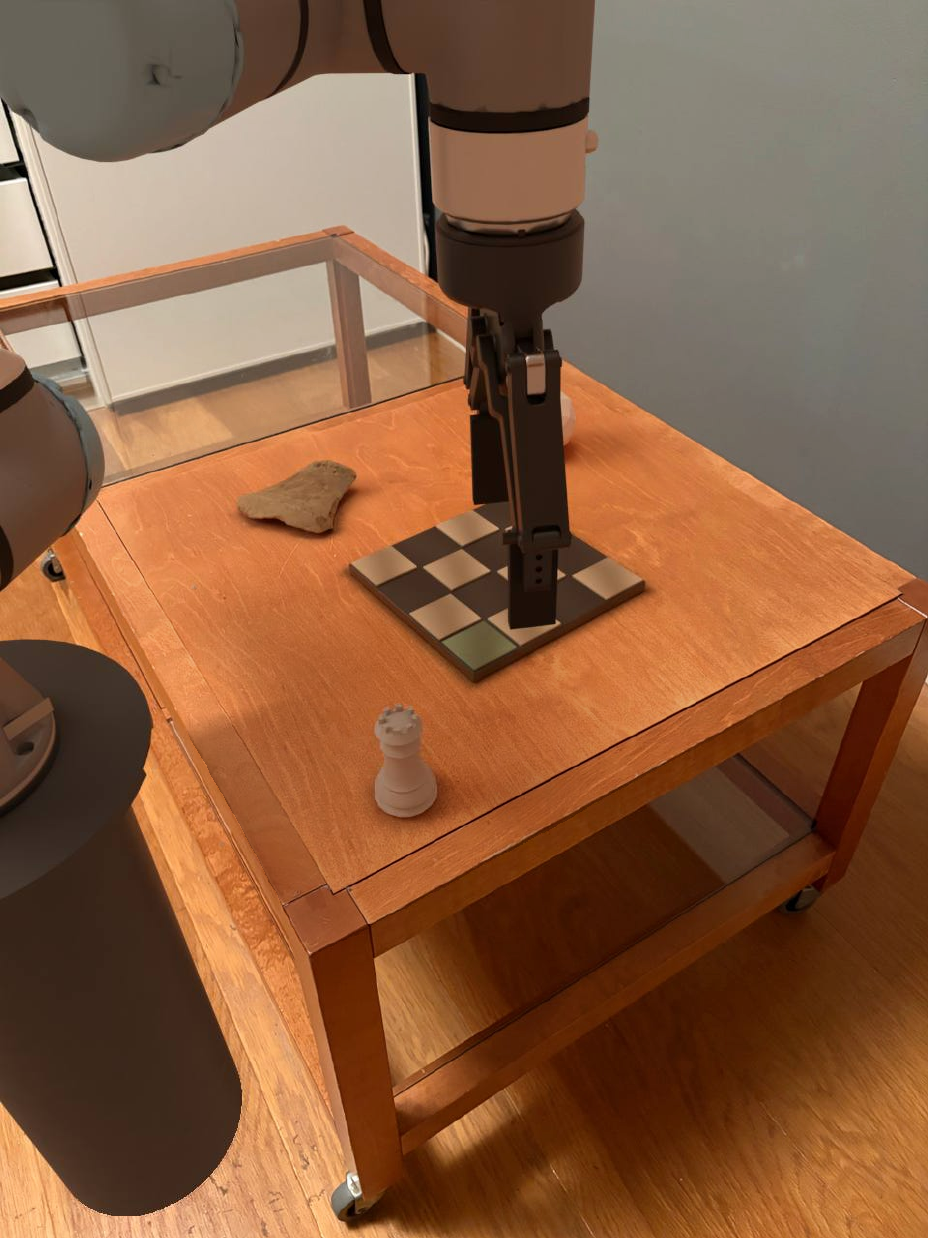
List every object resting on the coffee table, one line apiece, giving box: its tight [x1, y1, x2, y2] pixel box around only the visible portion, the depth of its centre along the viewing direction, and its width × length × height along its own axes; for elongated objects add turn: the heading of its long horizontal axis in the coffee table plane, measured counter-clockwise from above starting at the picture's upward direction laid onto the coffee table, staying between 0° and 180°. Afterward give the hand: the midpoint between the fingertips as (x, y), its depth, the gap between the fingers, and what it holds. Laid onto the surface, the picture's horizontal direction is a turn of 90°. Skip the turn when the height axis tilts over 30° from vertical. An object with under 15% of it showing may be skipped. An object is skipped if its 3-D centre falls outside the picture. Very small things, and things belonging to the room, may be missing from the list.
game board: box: [348, 501, 646, 683], centre depth 86 cm, size 19×19×1 cm
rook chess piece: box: [373, 703, 438, 818], centre depth 65 cm, size 4×4×8 cm
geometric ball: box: [561, 390, 578, 446], centre depth 102 cm, size 8×8×8 cm
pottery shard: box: [236, 459, 358, 534], centre depth 96 cm, size 11×4×10 cm
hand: (510, 557), depth 61 cm, fingers open, 13 cm apart
